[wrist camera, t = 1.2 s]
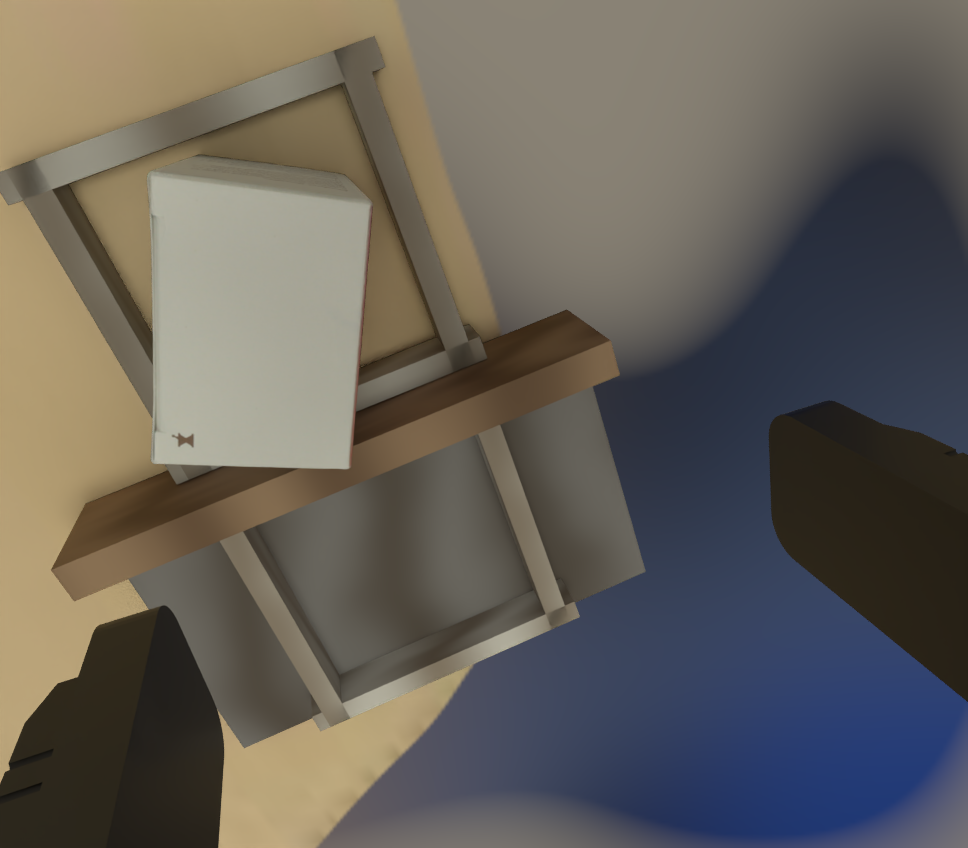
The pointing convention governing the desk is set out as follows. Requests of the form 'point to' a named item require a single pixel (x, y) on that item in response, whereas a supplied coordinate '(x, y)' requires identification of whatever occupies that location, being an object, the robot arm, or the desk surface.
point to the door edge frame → (353, 470)
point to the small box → (256, 313)
